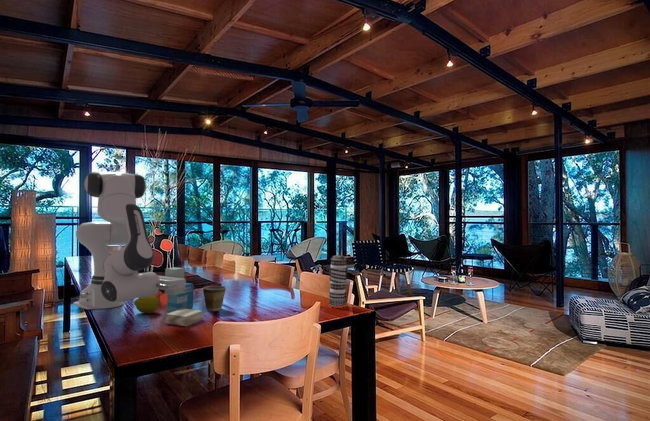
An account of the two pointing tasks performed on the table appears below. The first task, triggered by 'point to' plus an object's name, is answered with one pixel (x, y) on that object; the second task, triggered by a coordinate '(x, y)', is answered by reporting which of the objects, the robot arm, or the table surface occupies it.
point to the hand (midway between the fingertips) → (176, 279)
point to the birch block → (184, 317)
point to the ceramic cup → (214, 297)
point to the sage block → (177, 274)
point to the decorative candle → (338, 281)
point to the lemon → (147, 304)
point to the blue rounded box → (181, 299)
